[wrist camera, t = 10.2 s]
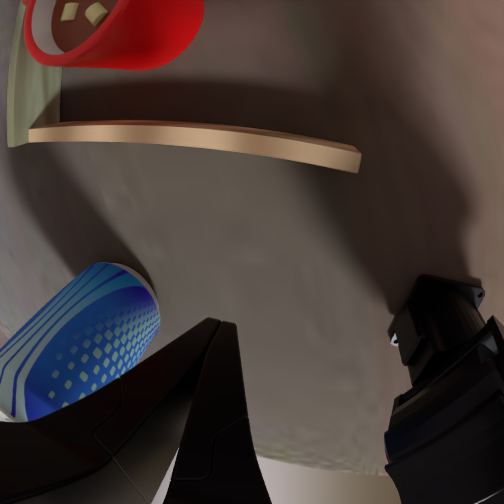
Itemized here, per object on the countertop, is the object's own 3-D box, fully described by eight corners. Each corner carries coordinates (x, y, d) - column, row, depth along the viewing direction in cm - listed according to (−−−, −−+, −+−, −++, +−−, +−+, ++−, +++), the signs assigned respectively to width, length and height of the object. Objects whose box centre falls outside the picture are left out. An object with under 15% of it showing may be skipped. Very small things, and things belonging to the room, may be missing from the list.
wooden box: (374, -72, 9) (385, -110, 4) (350, 161, 17) (362, 180, 12) (78, -47, 11) (39, -59, 7) (52, 134, 20) (7, 147, 15)
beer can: (82, 247, 24) (-47, 361, 10) (162, 264, 23) (28, 429, 9) (99, 320, 28) (9, 433, 14) (171, 341, 27) (88, 487, 13)
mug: (93, -31, 13) (23, -51, 6) (224, -19, 13) (171, -75, 6) (58, 53, 16) (-18, 55, 9) (175, 84, 17) (96, 79, 10)
